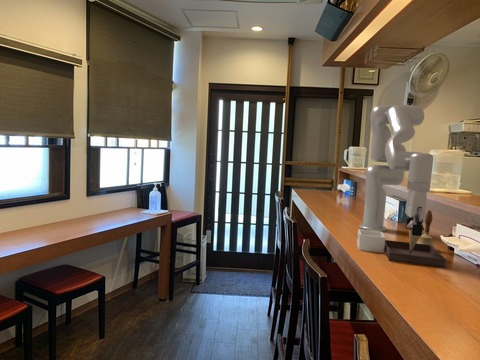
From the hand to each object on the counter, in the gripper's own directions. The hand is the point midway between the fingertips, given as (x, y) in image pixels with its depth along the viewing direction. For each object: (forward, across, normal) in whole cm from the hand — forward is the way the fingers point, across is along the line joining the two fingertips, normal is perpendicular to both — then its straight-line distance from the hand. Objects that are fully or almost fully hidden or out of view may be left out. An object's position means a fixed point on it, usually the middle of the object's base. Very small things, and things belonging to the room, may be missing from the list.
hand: (413, 232), depth 128 cm
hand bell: (+10, -14, +8) cm, 18 cm away
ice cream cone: (+9, -1, 0) cm, 9 cm away
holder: (+9, -5, -14) cm, 18 cm away
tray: (+9, 0, 0) cm, 9 cm away
